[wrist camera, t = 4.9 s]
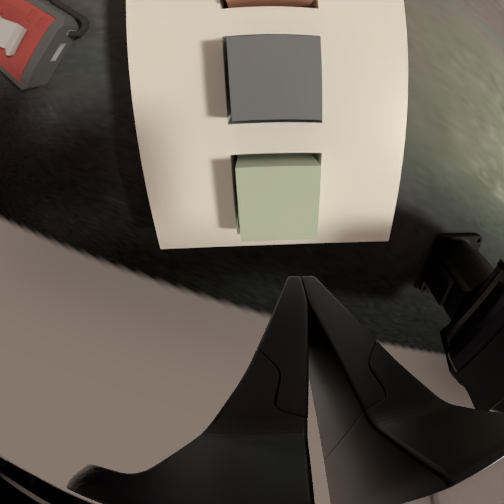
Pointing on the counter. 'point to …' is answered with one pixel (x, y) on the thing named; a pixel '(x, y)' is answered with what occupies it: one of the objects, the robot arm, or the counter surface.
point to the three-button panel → (267, 131)
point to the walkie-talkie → (36, 38)
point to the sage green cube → (278, 196)
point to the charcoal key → (275, 77)
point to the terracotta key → (268, 3)
